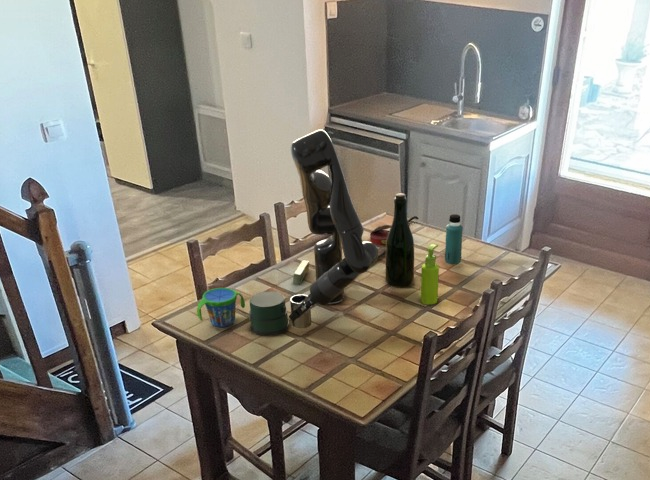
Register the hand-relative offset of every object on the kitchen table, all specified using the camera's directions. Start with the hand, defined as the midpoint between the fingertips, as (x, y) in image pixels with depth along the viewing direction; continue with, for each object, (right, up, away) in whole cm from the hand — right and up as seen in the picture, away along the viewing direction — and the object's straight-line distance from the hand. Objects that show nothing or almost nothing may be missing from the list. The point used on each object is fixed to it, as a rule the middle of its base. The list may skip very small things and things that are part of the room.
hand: (296, 313), depth 215 cm
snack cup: (-25, -2, +8) cm, 27 cm away
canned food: (+23, +34, +68) cm, 80 cm away
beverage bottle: (+52, +22, +50) cm, 75 cm away
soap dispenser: (+42, +6, +25) cm, 49 cm away
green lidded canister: (-10, -4, +7) cm, 12 cm away
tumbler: (+2, -3, +1) cm, 4 cm away
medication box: (-5, +16, +38) cm, 41 cm away
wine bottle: (+31, +14, +36) cm, 50 cm away
